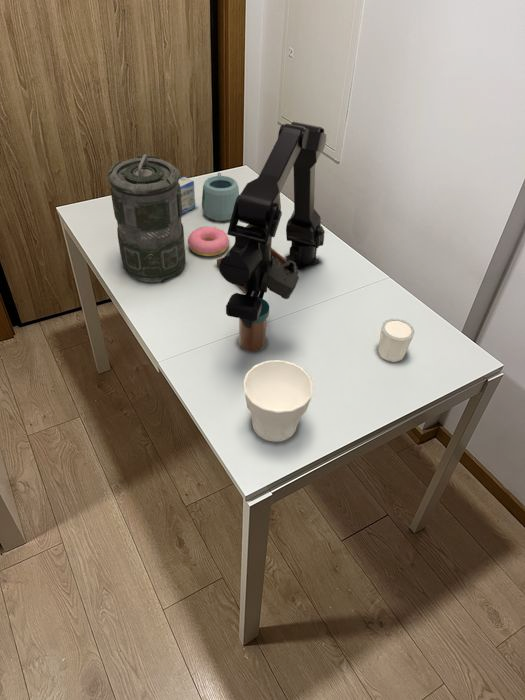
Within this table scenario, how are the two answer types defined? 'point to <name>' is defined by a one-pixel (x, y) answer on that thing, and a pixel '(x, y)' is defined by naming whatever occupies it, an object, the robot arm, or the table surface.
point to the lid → (263, 312)
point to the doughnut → (208, 241)
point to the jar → (252, 336)
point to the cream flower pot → (277, 398)
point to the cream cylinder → (395, 339)
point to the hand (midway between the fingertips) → (252, 317)
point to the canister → (148, 217)
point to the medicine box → (187, 194)
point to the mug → (219, 197)
